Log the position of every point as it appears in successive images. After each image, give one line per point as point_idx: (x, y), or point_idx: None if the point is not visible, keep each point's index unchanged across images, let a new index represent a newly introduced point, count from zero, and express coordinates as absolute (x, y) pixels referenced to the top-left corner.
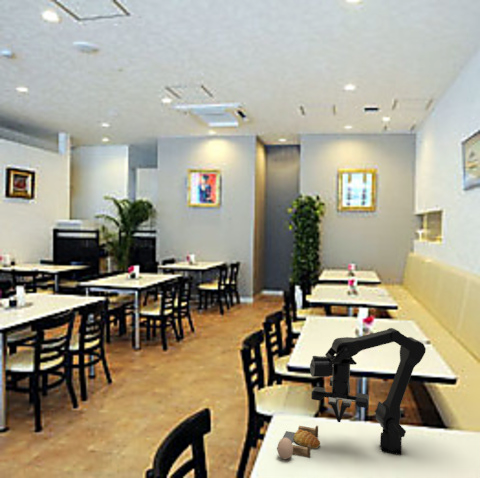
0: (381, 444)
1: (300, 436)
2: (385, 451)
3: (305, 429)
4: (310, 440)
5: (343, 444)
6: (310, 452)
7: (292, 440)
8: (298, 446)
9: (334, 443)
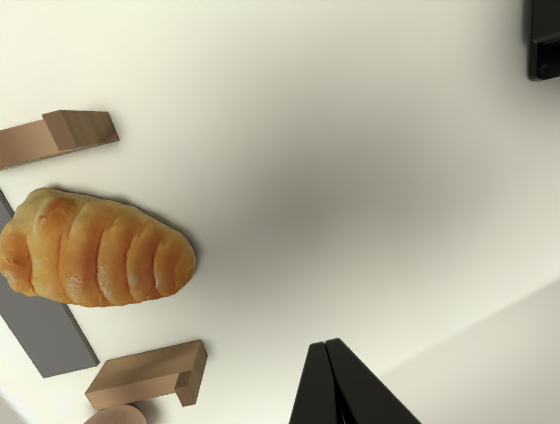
0: (557, 37)
1: (66, 301)
2: (557, 76)
3: (9, 165)
4: (141, 297)
5: (295, 130)
6: (197, 351)
7: None
8: (132, 389)
9: (244, 152)
